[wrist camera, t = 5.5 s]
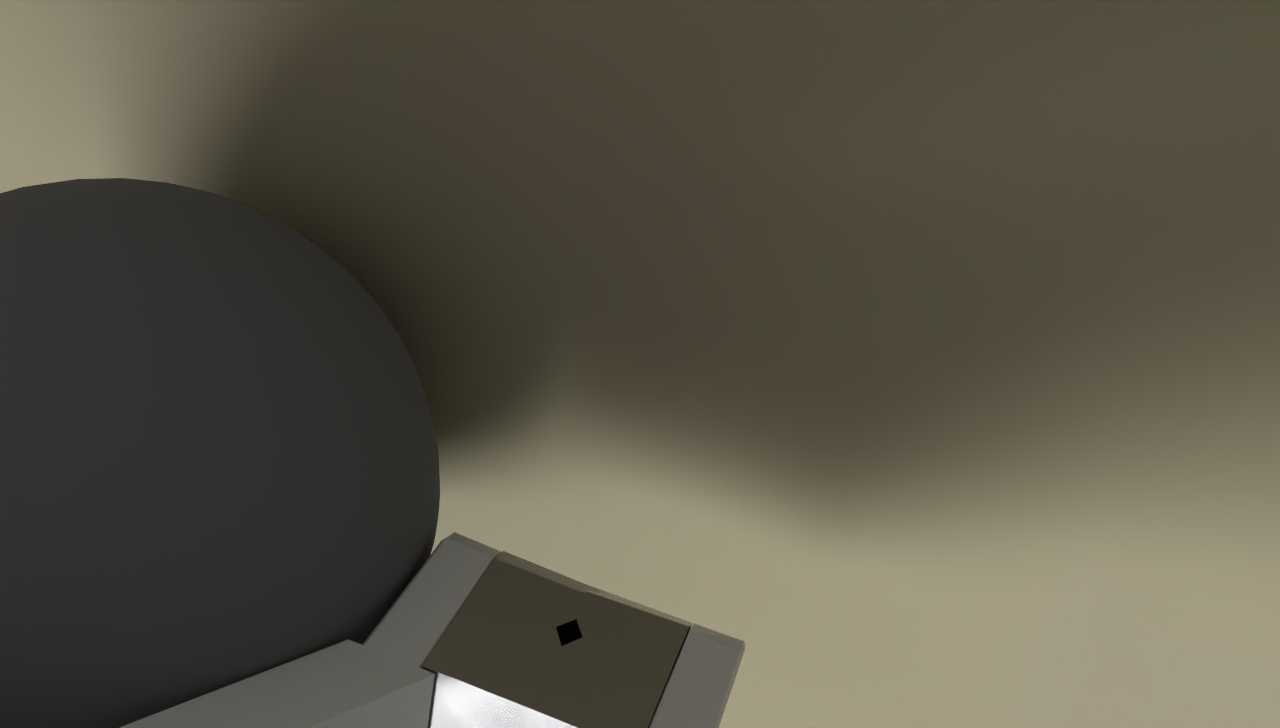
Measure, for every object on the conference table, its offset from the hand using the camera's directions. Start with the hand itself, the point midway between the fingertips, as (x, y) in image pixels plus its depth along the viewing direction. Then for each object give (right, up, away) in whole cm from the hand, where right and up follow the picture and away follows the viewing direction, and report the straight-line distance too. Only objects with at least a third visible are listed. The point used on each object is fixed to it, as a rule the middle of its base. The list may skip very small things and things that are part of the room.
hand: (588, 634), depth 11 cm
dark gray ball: (-4, +1, 0) cm, 4 cm away
